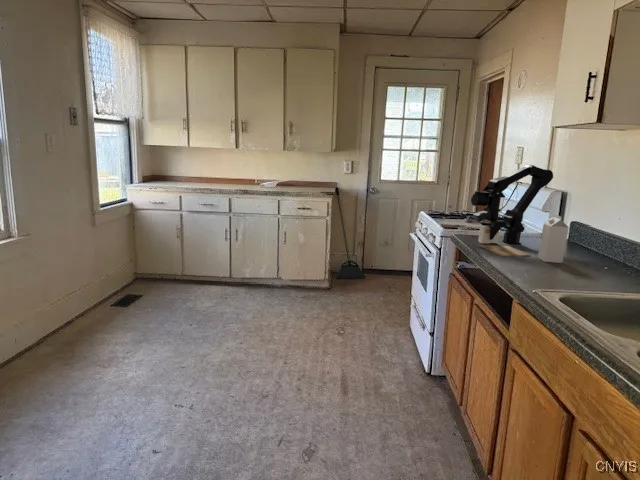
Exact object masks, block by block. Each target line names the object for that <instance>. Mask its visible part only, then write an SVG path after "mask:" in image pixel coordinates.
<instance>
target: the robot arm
mask: <svg viewBox="0 0 640 480" xmlns="http://www.w3.org/2000/svg"><path fill="white" fill-rule="evenodd" d="M527 176H530V177H531V182H530V184H529V186H528V187H527V189H526V190H525V192H524V194H523V195H521V197H520V199H519V200H518V202H517V203H516V205H514V208H512V209H507V210H506V212H505V213H504V214H503V215H502V219H500V217H499V212H501V211H502V209H500V207H501V201H502V199H501V198H506V195H505V194H504V193H503V192H504V191H505V190H506V189H508V187H509V186H510V185H511V184H513V183H516V182H517V181H520V180H522V179H524V178H525V177H527ZM553 178H554V173H553V171H552V169H544V168H541V167H538V166H535V165H534V164H533V165H532V164H525V165H524V166H522V167H520V168H518V169H517V170H514V171H512V172H510V173H508V174H506V175H504V176H501V177H496V178H493V179H492V178H491V179H490V180H488V182H487V185H486V186H484V188H483V189H482V190H481V191H479V190H478V191H477V190H475V191H474V193H473V195H472V196H471V198H470V201H471V205H472V206H473V207H484V208H483V210H481V211H478V212H475V213H473V214H472V215H473V219H474V222H475V221H476V222H477V223H479V224H480V226H488V227H489V228H490V240H492V239H493V238H494V236H495V235H496V234H497V232H498V231H499V232H500V230H501V229H505V232H504V234H503V239H502V242H504V243H507V244H508V245H510V244H511V245H522V243H521V242H520V240H521V234H522V233H523V232H524V231H525V230H526V228H525V226H524V225H523V223H522V222H523V219H524V213H525V212H526V210H527V209H528V207H529V206H530V205H531V203H532V202H533V200H534V199H535V198H536V196H537V195H538V193H539V192H540V191H541V190H542V189H543V188H544V187H546V186H548V184H549V183H550V182H551V181H552V180H553Z"/></svg>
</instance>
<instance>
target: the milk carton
mask: <svg viewBox="0 0 640 480" xmlns="http://www.w3.org/2000/svg"><path fill="white" fill-rule="evenodd" d="M562 218H563V217H562V216H561V215H559V214H558V215H557V214H555V213H554V214H553V216H552V217H550V218H548V220H547V221H544V223H543V224H542V232H541V235H540V236H541V237H540V243H539V249H538V253H537V258H538V259H540V260H541V261H542V262H546V263H556V264H557V263H558V264H563V261H564V255H565V251H566V245H567V244H566V243H567V240H568V233H569V229H570V227H569V226H568V225H567V224H566V223H565V222H564V221H563V219H562Z"/></svg>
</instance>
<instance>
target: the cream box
mask: <svg viewBox="0 0 640 480" xmlns="http://www.w3.org/2000/svg"><path fill="white" fill-rule="evenodd" d="M499 235H500V230H499V231H498V232H497V234H496V235H495V236H494V238H493V239H492V240H490V228H489V227H488V226H482V225H479V233H478V241H477V242H478V243H480V244H489V243H497V244H498V243H499V242H498V240H499Z"/></svg>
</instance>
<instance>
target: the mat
mask: <svg viewBox="0 0 640 480" xmlns="http://www.w3.org/2000/svg"><path fill="white" fill-rule="evenodd" d="M480 247H481V248H482V249H485V250H487V251H489V252H491V253H493V254H495V255H497V256H499V257H503V256H504V257H531V254H529V253H526V252H524V251H521V250H520V249H517V248H514V247H512V246H509V245H485V244H484V245H481V246H480Z"/></svg>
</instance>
